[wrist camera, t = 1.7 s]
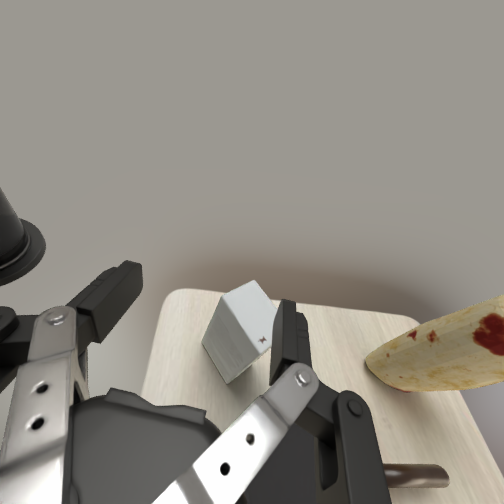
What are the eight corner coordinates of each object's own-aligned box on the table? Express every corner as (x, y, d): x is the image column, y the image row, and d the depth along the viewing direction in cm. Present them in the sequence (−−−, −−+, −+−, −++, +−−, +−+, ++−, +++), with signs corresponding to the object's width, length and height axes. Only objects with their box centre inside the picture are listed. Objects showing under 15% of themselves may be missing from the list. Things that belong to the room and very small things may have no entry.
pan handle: (358, 487, 23) (371, 489, 22) (353, 462, 24) (365, 463, 23) (441, 486, 25) (457, 488, 24) (433, 464, 26) (448, 465, 25)
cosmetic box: (253, 363, 29) (295, 329, 21) (226, 385, 27) (260, 357, 18) (227, 323, 31) (255, 277, 23) (199, 340, 29) (219, 295, 20)
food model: (361, 385, 32) (533, 335, 18) (357, 339, 37) (491, 269, 22) (422, 408, 33) (636, 379, 18) (411, 361, 37) (575, 307, 23)
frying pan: (225, 583, 18) (237, 606, 16) (236, 395, 27) (245, 390, 24) (361, 569, 21) (391, 587, 18) (333, 403, 29) (350, 399, 27)
